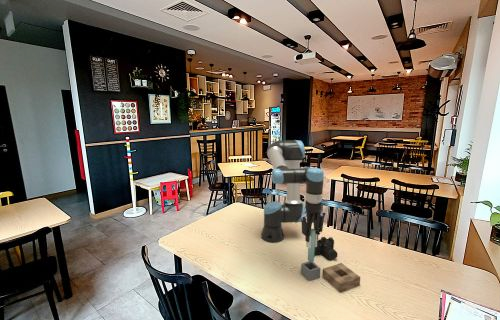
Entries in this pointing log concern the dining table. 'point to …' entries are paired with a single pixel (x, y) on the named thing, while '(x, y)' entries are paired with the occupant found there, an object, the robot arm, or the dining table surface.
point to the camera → (325, 248)
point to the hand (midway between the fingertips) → (311, 246)
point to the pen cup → (310, 271)
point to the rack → (341, 277)
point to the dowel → (311, 246)
